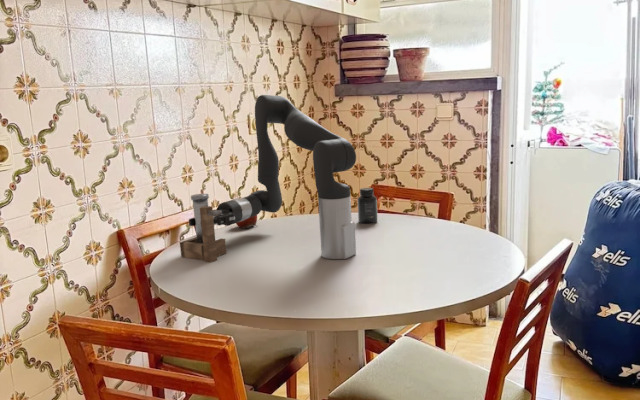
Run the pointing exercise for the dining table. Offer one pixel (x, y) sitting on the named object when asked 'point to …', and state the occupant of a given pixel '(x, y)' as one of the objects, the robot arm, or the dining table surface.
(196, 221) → the pin
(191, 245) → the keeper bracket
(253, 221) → the fruit
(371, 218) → the supplement bottle
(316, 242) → the dining table surface
